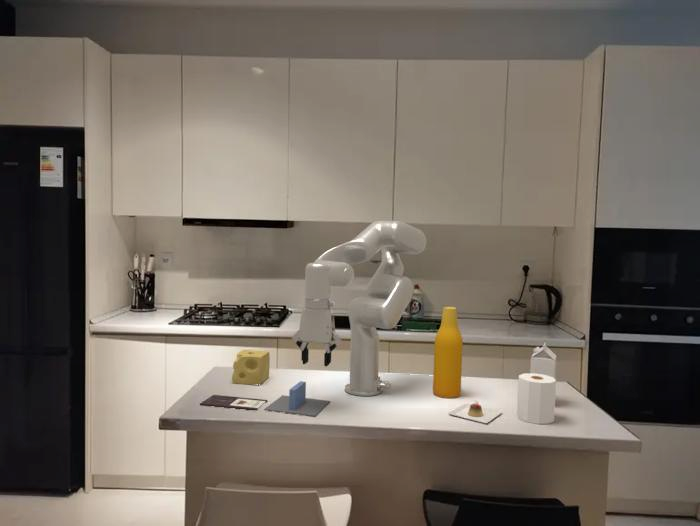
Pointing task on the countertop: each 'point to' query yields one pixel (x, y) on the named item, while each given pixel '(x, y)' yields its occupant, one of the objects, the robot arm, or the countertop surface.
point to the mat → (307, 408)
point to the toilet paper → (536, 398)
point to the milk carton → (543, 361)
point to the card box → (297, 395)
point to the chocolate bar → (233, 402)
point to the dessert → (475, 411)
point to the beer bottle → (448, 356)
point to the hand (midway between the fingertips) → (316, 363)
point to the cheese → (251, 367)
